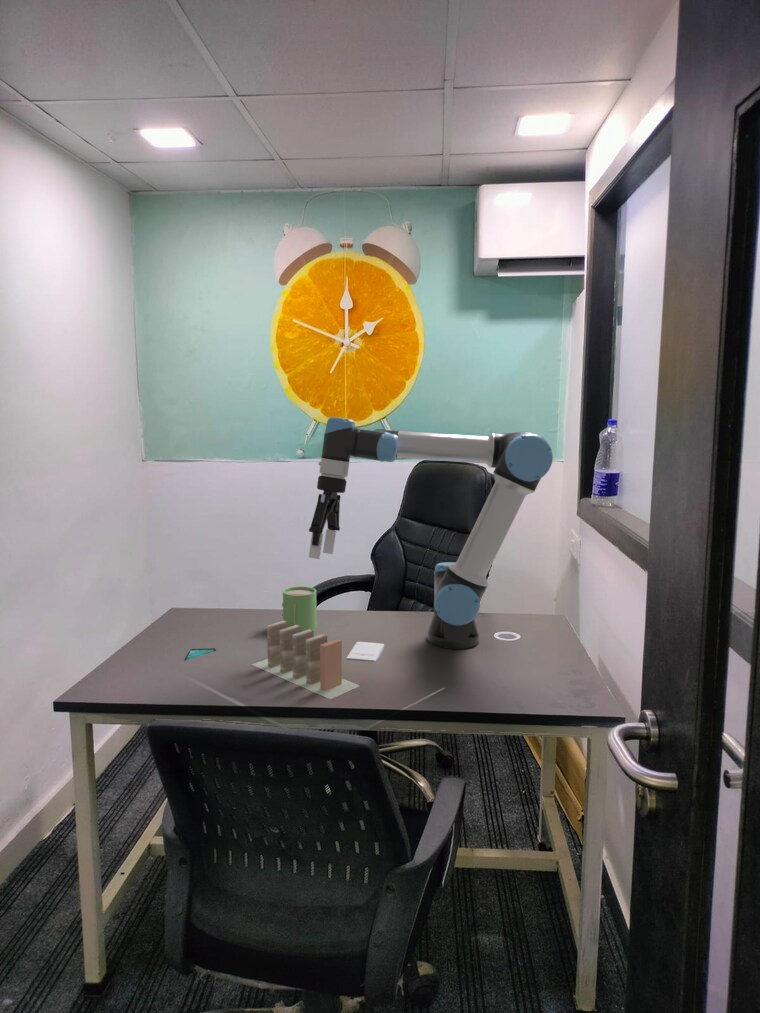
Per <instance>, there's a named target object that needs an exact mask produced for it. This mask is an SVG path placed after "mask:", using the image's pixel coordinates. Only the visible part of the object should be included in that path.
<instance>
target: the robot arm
mask: <svg viewBox="0 0 760 1013" xmlns="http://www.w3.org/2000/svg"><path fill="white" fill-rule="evenodd" d="M323 436H324V437H323V443H322V450H321V457H320V458H321V459H320V461H319V462H318V466H319V472H318V473H319V474H320V475H319V476H318V478H317V483H316V484H317V485H316V489H317V490H319V491H323V492H322V493H319V494H318V497H317V503H316V506H315V510H314V513H313V517H312V521H311V524H310V527H309V529H308V532H310V533H311V539H310V545H309V552H308V558H310V559H315V560H320V558H321V552H322V553H323V554H328V555H334V549H335V543H336V536H337V532H339V531H340V529H341V527H340V510H341V509H340V507H341V506H340V502H341V497H342V496H341V494H344V493H345V492H346V488H347V487H346V486H347V481H348V480H347V479H346V478H347V477H348V475H349V468H350V460H351V459H350V458H351V457H353V458H360V459H361V458H362V459H367V460H373V461H379V462H381V463H383V462H384V463H385V462H386V463H388V462H389V463H394V462H395V460H396V458H397V459H398V458H400V459H414V460H428V461H430V460H431V461H443V462H459V463H470V464H471V463H472V464H473V463H474V464H484V465H485V464H486V465H487V466H488V467H489V468H490V469H491V468H492V469H493V468H495V469H494V471H493V473H492V474H493V477H494V480H495V481H494V484H493V486H492V488H491V490H490V492H489V494H488V496H487V498H486V500H485V502H484V504H483V506H482V508H481V511H480V513H479V515H478V517H477V518H476V521H475V523H474V525H473V528H472V529H471V532H470V533H469V536H468V537H467V540H466V542H465V544H464V545H463V548H462V550H461V552H460V554H459V556H458V558H457V560H456V562H451V561H450V562H439V563H436V565H435V566H434V571H433V574H434V584H433V585H434V587H433V589H434V591H433V592H434V593H433V594H434V595H433V596H434V598H433V616H432V618H431V620H430V624H429V626H428V630H427V636H426V637H427V641H428V642H429V643H430V644H431V645H434V646H437V647H440V648H444V649H452V650H460V649H469V648H473V647H475V646H476V645H479V643H480V632H479V628H478V625H477V621H476V619H475V618H476V617H477V615H478V614H479V611H480V608H481V600H482V599H483V596H484V594H485V592H486V589H487V588H488V586H489V581H488V579H487V575H488V573H489V571H490V569H491V567H492V564H493V563H494V561H495V559H496V556H497V554H499V551H500V549H501V546H502V544H503V543H504V540H505V539H506V537H507V535H508V532H509V530H510V528H511V527H512V524H513V522H514V520H515V518H516V517H517V514H518V512H519V510H520V508H521V506H522V504H523V502H524V500H525V498H526V497H527V496H528V495H529V494H532V493H535V491H536V490H537V487H538V485H539V483H540V481H541V479H542V478H543V477H544V476H546V475H547V474H548V472H549V471H550V469H551V467H552V466H553V457H554V456H553V450H552V447H551V446H550V444H549V442H548V441H547V440H546V439H545V438H544V437H543V436H541V435H539V434H537V433H533V432H528V431H516V432H506V433H505V432H503V433H499V432H497V433H496V432H494V433H493V432H492V433H491V434H489V435H488V436H486V435H474V434H473V435H472V434H452V433H440V432H439V433H436V432H421V431H420V432H419V431H407V430H406V431H405V430H386V429H384V428H383V429H381V428H377V429H374V430H369V429H361V428H357V427H356V422H355V420H353V419H349V418H345V417H344V418H342V417H337V416H332V417H329V418H328V419H327V421H326V425H325V430H324V434H323ZM338 493H339V494H338ZM326 523H327V529H326V530H325V534H324V533H323V531H324V528H325V526H326ZM323 538H324V543H323ZM322 544H323V550H322Z"/></svg>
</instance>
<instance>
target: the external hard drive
mask: <svg viewBox="0 0 760 1013" xmlns="http://www.w3.org/2000/svg"><path fill="white" fill-rule="evenodd" d="M384 649H385V644H384V643H381V642H380V643H379V642H367V641H366V642H365V641H356V642H355V644H354V645H353V647H352V648H351V650H350V652H349V653H348V655H347V656H346V658H345V659H346V660H352V661H362V662H363V661H365V662H374V663H375V662H376V661H378V660H379V658H380V656H381V655H382V652H383V650H384Z"/></svg>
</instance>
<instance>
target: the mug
mask: <svg viewBox="0 0 760 1013" xmlns="http://www.w3.org/2000/svg"><path fill="white" fill-rule="evenodd" d="M281 607H282V614H281V615H282V616H283V617H282V618H283V620H282V621H287V622H288V627H292V626H295V625H299V626H301V632H303V631H306V630H309V629H310V630H313V631H314V632H315V631H317V629H316V628H317V624H318V623H317V622H318V620H317V589H316V588H315V587H311V586H304V585H303V586H299V585H298V586H290V587H288V588H284V589H283V590H282V604H281Z"/></svg>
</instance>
